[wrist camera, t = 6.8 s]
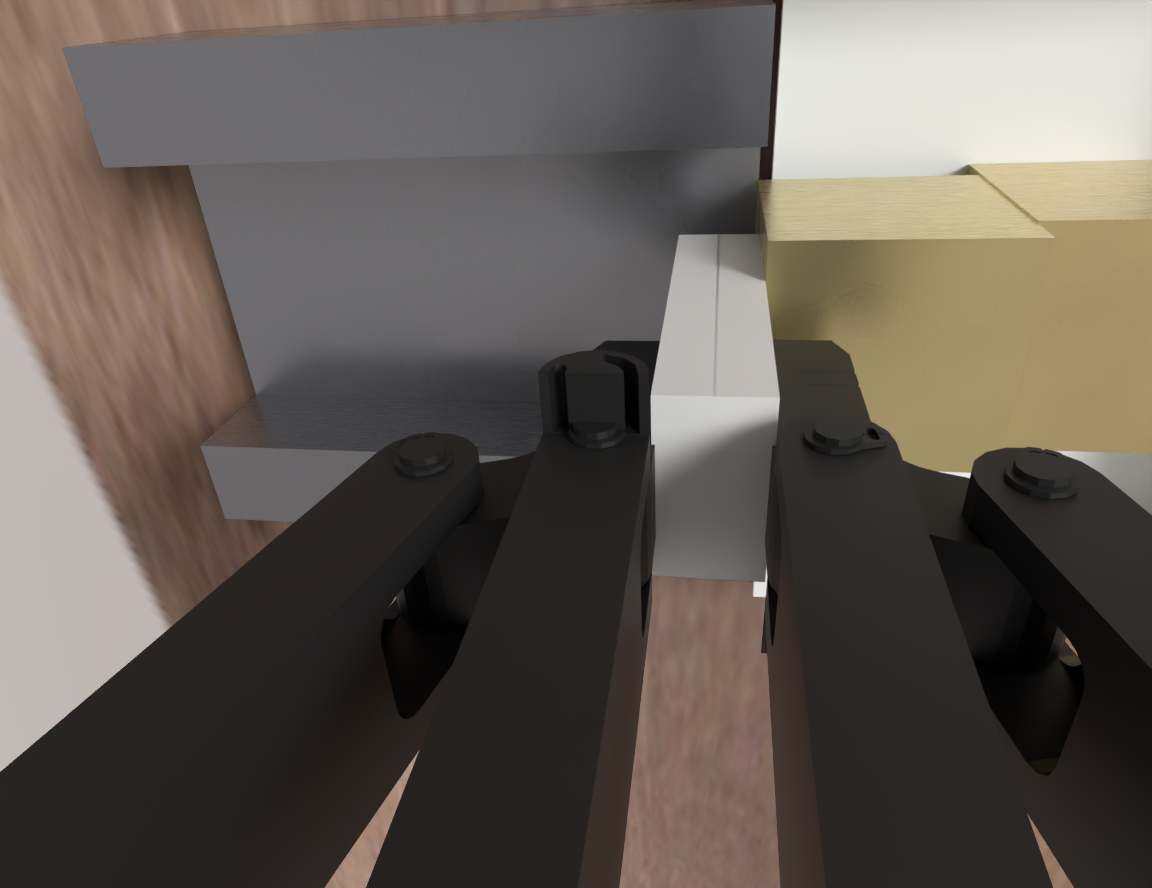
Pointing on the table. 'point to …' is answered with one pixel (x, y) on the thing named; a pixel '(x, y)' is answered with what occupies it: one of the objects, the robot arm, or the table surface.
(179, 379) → the table surface
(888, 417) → the tan cube block
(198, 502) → the table surface
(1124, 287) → the khaki cube block
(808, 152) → the white rectangular frame
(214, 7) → the table surface
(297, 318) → the slot rail
